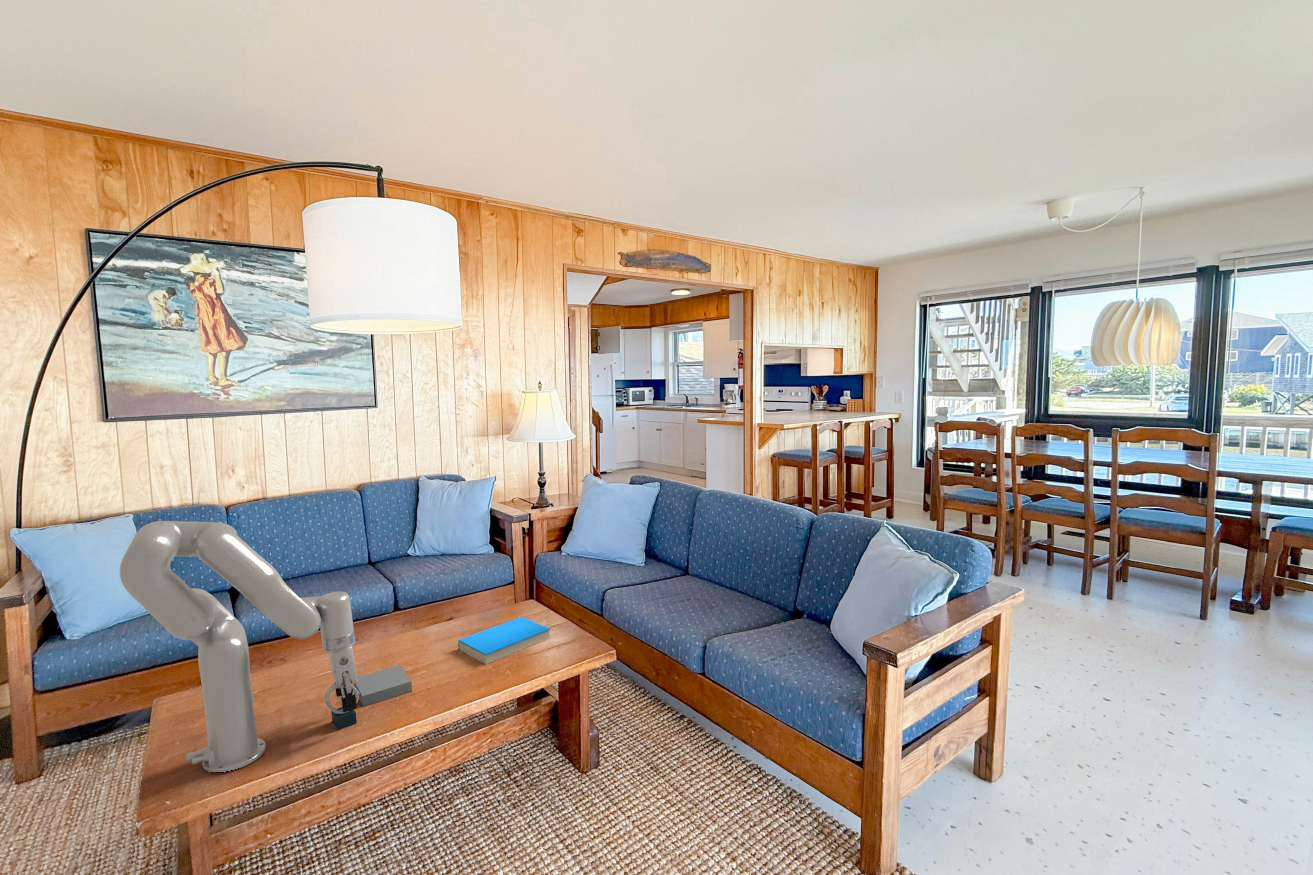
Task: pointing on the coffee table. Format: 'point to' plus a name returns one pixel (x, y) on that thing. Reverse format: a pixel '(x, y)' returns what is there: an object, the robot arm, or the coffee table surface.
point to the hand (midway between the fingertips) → (346, 701)
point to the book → (503, 640)
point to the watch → (341, 711)
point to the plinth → (383, 685)
